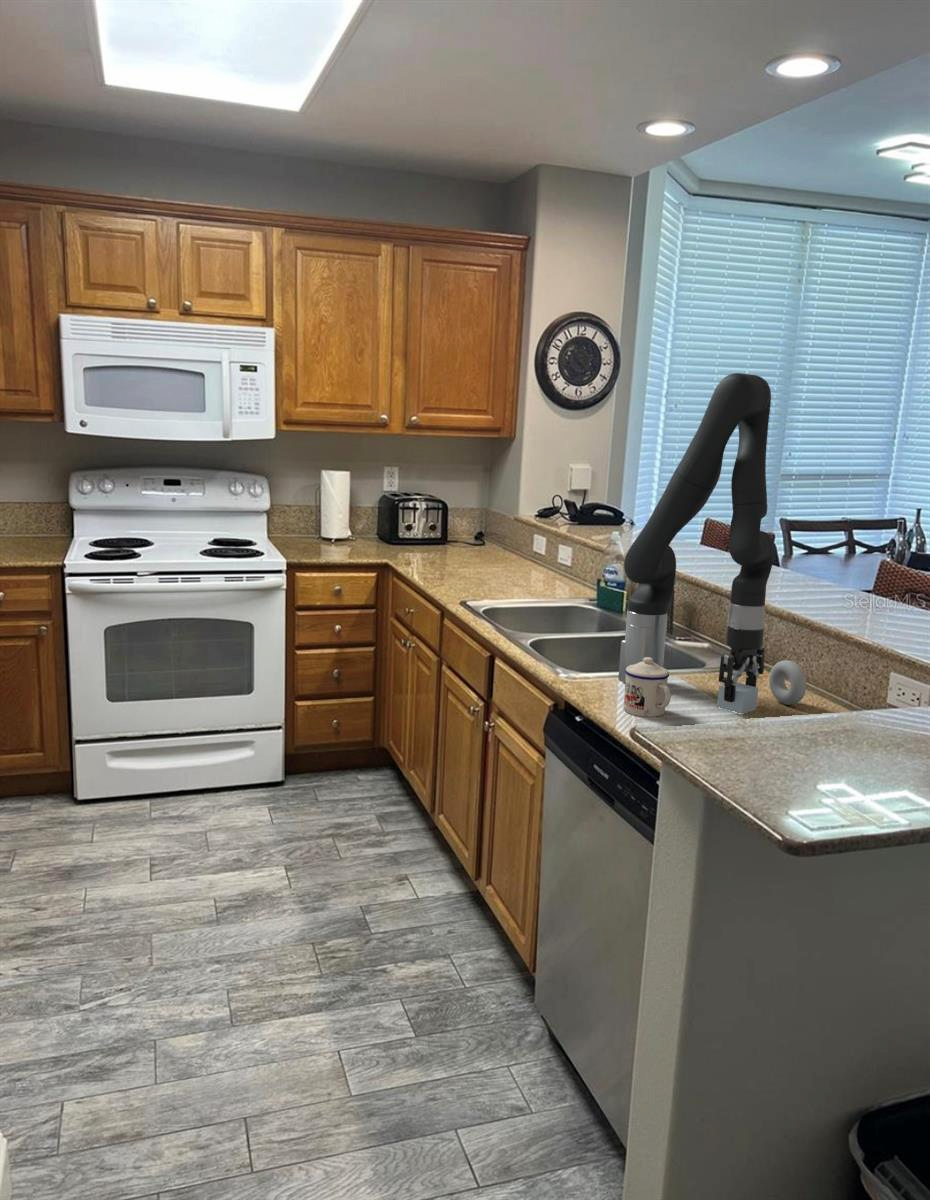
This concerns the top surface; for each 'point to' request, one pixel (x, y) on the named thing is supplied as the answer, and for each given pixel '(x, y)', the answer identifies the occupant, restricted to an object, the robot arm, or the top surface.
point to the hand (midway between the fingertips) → (739, 697)
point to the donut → (796, 682)
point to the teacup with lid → (646, 689)
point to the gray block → (739, 698)
